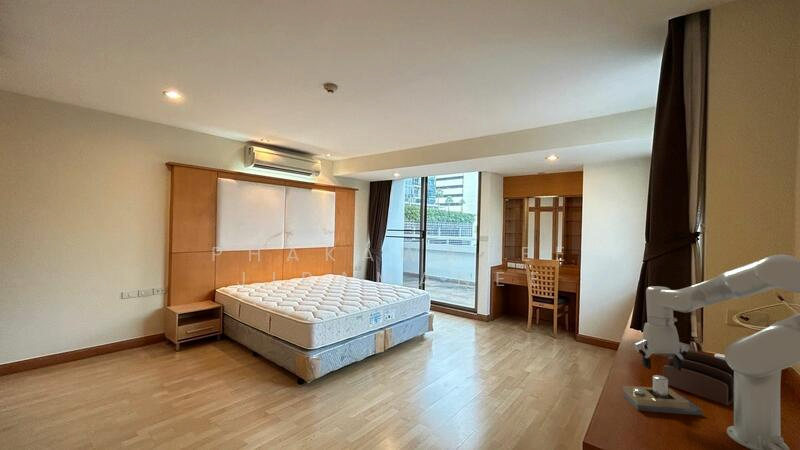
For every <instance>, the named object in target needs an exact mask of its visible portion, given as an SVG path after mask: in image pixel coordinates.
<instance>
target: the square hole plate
mask: <svg viewBox="0 0 800 450" xmlns="http://www.w3.org/2000/svg"><path fill="white" fill-rule="evenodd" d="M622 387H623V388H622V389H623V391H622V392H623V394H622V395H623V397H624V399H626V400H627V401H628V402H629V404H631V406H632V407H634V408H635V410H637V411H638V412H639V411H640V412H654V413H664V414H665V413H666V414H677V415H678V414H679V415H692V416H703V410H702V408H700V407H699V406H698V405H696V404H695V403H693V402H692V401H691V400H690V399H689V398H687V397H686V396H684V395H683V394H679V393H677V392H675V391H674V389H672V388H668V399H660V398H655V397H654V396H653V386H652V387H649V386H648V387H647V386H637V385H636V386H635V385H623V386H622Z"/></svg>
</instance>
